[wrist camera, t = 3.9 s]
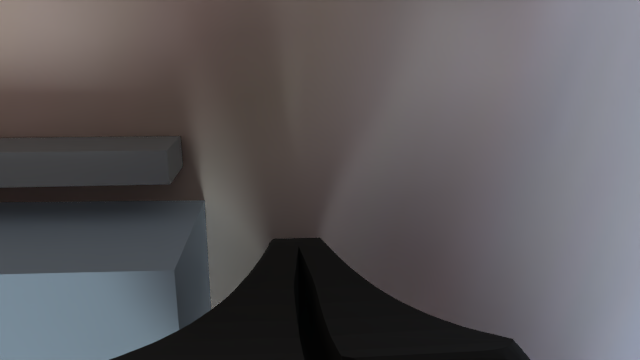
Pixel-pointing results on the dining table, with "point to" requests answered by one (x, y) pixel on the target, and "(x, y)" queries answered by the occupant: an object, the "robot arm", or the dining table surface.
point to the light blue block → (99, 276)
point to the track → (89, 161)
